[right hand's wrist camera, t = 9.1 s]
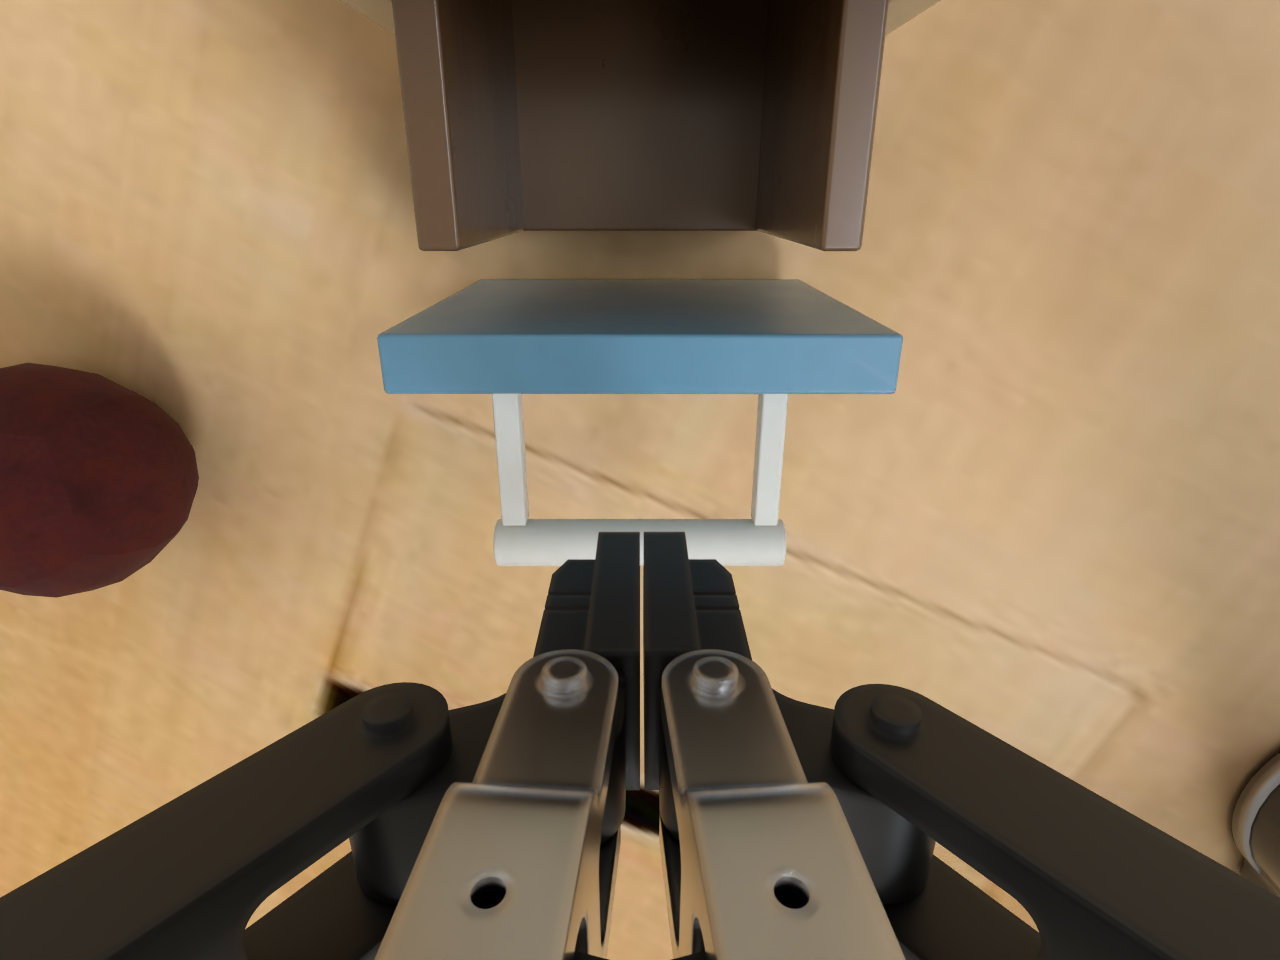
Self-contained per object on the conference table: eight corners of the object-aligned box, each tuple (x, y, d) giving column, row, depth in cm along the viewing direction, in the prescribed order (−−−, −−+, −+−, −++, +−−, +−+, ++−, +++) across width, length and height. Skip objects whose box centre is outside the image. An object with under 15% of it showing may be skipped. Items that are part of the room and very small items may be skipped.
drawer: (785, 467, 25) (865, 618, 16) (494, 466, 25) (414, 618, 16) (841, -217, 18) (1037, -619, 9) (439, -217, 18) (243, -620, 9)
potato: (-20, 354, 24) (-262, 413, 18) (200, 331, 24) (36, 382, 17) (66, 545, 27) (-117, 657, 20) (264, 527, 27) (143, 634, 20)
